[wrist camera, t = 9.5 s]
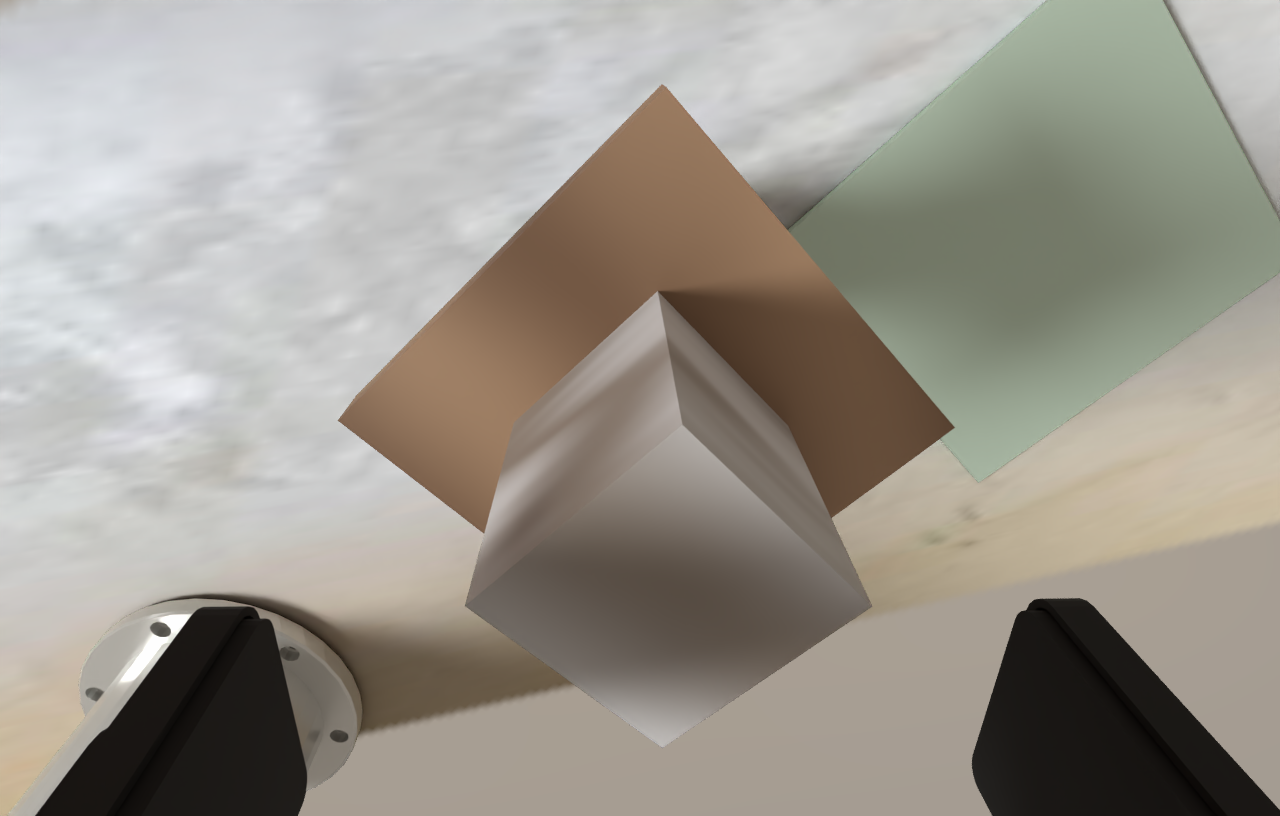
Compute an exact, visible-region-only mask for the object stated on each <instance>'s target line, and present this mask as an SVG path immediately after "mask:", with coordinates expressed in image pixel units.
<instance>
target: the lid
mask: <svg viewBox="0 0 1280 816" xmlns="http://www.w3.org/2000/svg"><path fill="white" fill-rule="evenodd" d="M338 421H339V422H341V423H342V424H343V425H344V426H346V427H347V428H348V429H350V430H351V431H352V432H353V433H355V434H356V435H357V436H359V437H360V438H361V439H362V440H364V441H365V442H366V443H368V444H369V445H370V446H372V447H373V448H374V449H375V450H377V451H378V452H379V453H381V454H382V455H383V456H384V457H386V458H387V459H388V460H390V461H391V462H392V463H393V464H395V465H396V466H397V467H399V468H400V469H401V470H403V471H404V472H405V473H406V474H408V475H409V476H410V477H412V478H413V479H414V480H415V481H417V482H418V483H419V484H421V485H422V486H423V487H425V488H426V489H427V490H428V491H430V492H431V493H432V494H434V495H435V496H436V497H437V498H439V499H440V500H441V501H443V502H444V503H445V504H446V505H448V506H449V507H450V508H452V509H453V510H454V511H456V512H457V513H458V514H459V515H461V516H462V517H463V518H465V519H466V520H467V521H468V522H470V523H471V524H472V525H474V526H475V527H476V528H477V529H479V530H480V531H481V532H483V533H484V536H483V540H482V544H481V548H480V551H479V555H478V559H477V563H476V566H475V570H474V574H473V578H472V581H471V585H470V589H469V593H468V596H467V600H466V604H465V606H466V607H467V608H469V609H470V610H471V611H473V612H474V613H475V614H477V615H478V616H480V617H481V618H482V619H484V620H485V621H487V622H488V623H489V624H491V625H492V626H493V627H495V628H496V629H498V630H499V631H500V632H502V633H503V634H505V635H506V636H507V637H509V638H510V639H512V640H513V641H514V642H516V643H517V644H518V645H520V646H521V647H523V648H524V649H525V650H527V651H528V652H530V653H531V654H532V655H534V656H535V657H536V658H538V659H539V660H541V661H542V662H543V663H545V664H546V665H548V666H549V667H550V668H552V669H553V670H555V671H556V672H557V673H559V674H560V675H561V676H563V677H564V678H566V679H567V680H568V681H570V682H571V683H573V684H574V685H575V686H577V687H578V688H580V689H581V690H582V691H584V692H585V693H586V694H588V695H589V696H591V697H592V698H593V699H595V700H596V701H597V702H599V703H600V704H602V705H603V706H605V707H606V708H607V709H609V710H610V711H611V712H613V713H614V714H616V715H617V716H618V717H620V718H622V720H624V721H625V722H627V723H628V724H629V725H631V726H632V727H634V728H635V729H636V730H638V731H639V732H641V733H642V734H643V735H645V736H646V737H647V738H649V739H650V740H652V741H653V742H654V743H656V744H657V745H659V746H660V747H661V748H663V747H665V746H666V745H668V744H669V743H670V742H672V741H673V740H675V739H677V738H678V737H679V736H681V735H682V734H684V733H685V732H687V731H688V730H690V729H691V728H693V727H694V726H696V725H697V724H699V723H700V722H702V721H703V720H705V719H706V718H708V717H709V716H711V715H712V714H713V713H715V712H717V711H718V710H719V709H721V708H722V707H724V706H725V705H727V704H728V703H730V702H731V701H733V700H734V699H736V698H737V697H739V696H740V695H742V694H743V693H745V692H746V691H748V690H749V689H751V688H752V687H753V686H755V685H756V684H758V683H759V682H761V681H762V680H764V679H765V678H767V677H768V676H770V675H771V674H773V673H774V672H776V671H777V670H779V669H780V668H782V667H783V666H785V665H786V664H788V663H789V662H791V661H792V660H793V659H795V658H796V657H798V656H799V655H801V654H802V653H804V652H805V651H807V650H808V649H810V648H811V647H813V646H814V645H816V644H817V643H819V642H820V641H822V640H823V639H825V638H826V637H828V636H829V635H830V634H832V633H834V632H835V631H837V630H838V629H839V628H841V627H842V626H844V625H845V624H847V623H848V622H850V621H851V620H853V619H854V618H856V617H857V616H859V615H860V614H862V613H863V612H865V611H866V610H868V609H869V608H871V607H872V605H871V603H870V600H869V598H868V596H867V594H866V592H865V590H864V587H863V585H862V583H861V581H860V579H859V577H858V575H857V572H856V570H855V568H854V566H853V564H852V562H851V560H850V557H849V555H848V553H847V551H846V549H845V547H844V545H843V542H842V540H841V538H840V536H839V534H838V532H837V530H836V527H835V525H834V523H833V521H832V519H831V518H832V517H833V516H835V515H836V514H838V513H839V512H840V511H842V510H843V509H844V508H846V507H847V506H849V505H850V504H851V503H853V502H854V501H855V500H857V499H858V498H859V497H861V496H862V495H864V494H865V493H866V492H868V491H869V490H870V489H872V488H873V487H875V486H876V485H877V484H879V483H880V482H881V481H883V480H884V479H886V478H887V477H888V476H890V475H891V474H892V473H894V472H895V471H896V470H898V469H899V468H901V467H902V466H903V465H905V464H906V463H907V462H909V461H910V460H912V459H913V458H914V457H916V456H917V455H918V454H920V453H921V452H922V451H924V450H925V449H927V448H928V447H929V446H931V445H932V444H933V443H935V442H936V441H938V440H939V439H940V438H942V437H943V436H944V435H946V434H947V433H949V432H950V431H951V430H953V429H954V428H955V427H954V426H953V425H952V423H951V422H950V421H949V420H948V419H947V418H946V416H945V415H944V414H943V413H942V412H941V410H940V409H939V408H938V407H937V406H936V405H935V403H934V402H933V401H932V400H931V399H930V398H929V396H928V395H927V394H926V393H925V392H924V390H923V389H922V388H921V387H920V386H919V385H918V383H917V382H916V381H915V380H914V379H913V377H912V376H911V375H910V374H909V373H908V372H907V370H906V369H905V368H904V367H903V366H902V365H901V363H900V362H899V361H898V360H897V359H896V357H895V356H894V355H893V354H892V353H891V352H890V350H889V349H888V348H887V347H886V346H885V344H884V343H883V342H882V341H881V340H880V339H879V337H878V336H877V335H876V334H875V333H874V332H873V330H872V329H871V328H870V327H869V326H868V324H867V323H866V322H865V321H864V320H863V319H862V317H861V316H860V315H859V314H858V313H857V311H856V310H855V309H854V308H853V307H852V306H851V304H850V303H849V302H848V301H847V300H846V299H845V297H844V296H843V295H842V294H841V293H840V291H839V290H838V289H837V288H836V287H835V286H834V284H833V283H832V282H831V281H830V280H829V278H828V277H827V276H826V275H825V274H824V273H823V271H822V270H821V269H820V268H819V267H818V266H817V264H816V263H815V262H814V261H813V260H812V258H811V257H810V256H809V255H808V254H807V253H806V251H805V250H804V249H803V248H802V247H801V245H800V244H799V243H798V242H797V241H796V240H795V238H794V237H793V236H792V235H791V234H790V233H789V231H788V230H787V229H786V228H785V227H784V225H783V224H782V223H781V222H780V221H779V220H778V218H777V217H776V216H775V215H774V214H773V212H772V211H771V210H770V209H769V208H768V207H767V205H766V204H765V203H764V202H763V201H762V200H761V198H760V197H759V196H758V195H757V194H756V192H755V191H754V190H753V189H752V188H751V187H750V185H749V184H748V183H747V182H746V181H745V179H744V178H743V177H742V176H741V175H740V174H739V172H738V171H737V170H736V169H735V168H734V167H733V165H732V164H731V163H730V162H729V161H728V159H727V158H726V157H725V156H724V155H723V154H722V152H721V151H720V150H719V149H718V148H717V146H716V145H715V144H714V143H713V142H712V141H711V139H710V138H709V137H708V136H707V135H706V134H705V132H704V131H703V130H702V129H701V128H700V126H699V125H698V124H697V123H696V122H695V121H694V119H693V118H692V117H691V116H690V115H689V113H688V112H687V111H686V110H685V109H684V108H683V106H682V105H681V104H680V103H679V102H678V100H677V99H676V98H675V97H674V96H673V95H672V93H671V92H670V91H669V90H668V89H667V88H666V87H665V86H664V85H661V86H660V87H659V88H658V89H657V90H656V91H655V92H654V93H653V94H652V95H651V96H650V97H649V98H648V99H647V100H646V101H645V102H644V103H643V104H642V105H641V106H640V107H639V108H638V109H637V110H636V111H635V112H634V113H633V114H632V115H631V116H630V117H629V118H628V119H627V120H626V121H625V122H624V123H623V124H622V125H621V126H620V127H619V129H618V130H617V131H616V132H615V133H614V134H613V135H612V136H611V137H610V138H609V139H608V140H607V141H606V142H605V143H604V144H603V145H602V146H601V147H600V148H599V149H598V150H597V151H596V152H595V153H594V154H593V155H592V156H591V157H590V158H589V159H588V160H587V161H586V162H585V163H584V164H583V165H582V166H581V167H580V168H579V169H578V170H577V171H576V172H575V173H574V174H573V175H572V176H571V177H570V178H569V179H568V180H567V181H566V183H565V184H564V185H563V186H562V187H561V188H560V189H559V190H558V191H557V192H556V193H555V194H554V195H553V196H552V197H551V198H550V199H549V200H548V201H547V202H546V203H545V204H544V205H543V206H542V207H541V208H540V209H539V210H538V211H537V212H536V213H535V214H534V215H533V216H532V217H531V218H530V219H529V220H528V221H527V222H526V223H525V224H524V225H523V226H522V227H521V228H520V229H519V230H518V231H517V232H516V233H515V234H514V235H513V237H512V238H511V239H510V240H509V241H508V242H507V243H506V244H505V245H504V246H503V247H502V248H501V249H500V250H499V251H498V252H497V253H496V254H495V255H494V256H493V257H492V258H491V259H490V260H489V261H488V262H487V263H486V264H485V265H484V266H483V267H482V268H481V269H480V270H479V271H478V272H477V273H476V274H475V275H474V276H473V277H472V278H471V279H470V280H469V281H468V282H467V283H466V284H465V285H464V286H463V287H462V288H461V289H460V290H459V292H458V293H457V294H456V295H455V296H454V297H453V298H452V299H451V300H450V301H449V302H448V303H447V304H446V305H445V306H444V307H443V308H442V309H441V310H440V311H439V312H438V313H437V314H436V315H435V316H434V317H433V318H432V319H431V320H430V321H429V322H428V323H427V324H426V325H425V326H424V327H423V328H422V329H421V330H420V331H419V332H418V333H417V334H416V335H415V336H414V337H413V338H412V339H411V340H410V341H409V342H408V343H407V344H406V346H405V347H404V348H403V349H402V350H401V351H400V352H399V353H398V354H397V355H396V356H395V357H394V358H393V359H392V360H391V361H390V362H389V363H388V364H387V365H386V366H385V367H384V368H383V369H382V370H381V371H380V372H379V373H378V374H377V375H376V376H375V377H374V378H373V379H372V380H371V381H370V382H369V383H368V384H367V385H366V386H365V387H364V388H363V389H362V390H361V391H360V392H359V393H358V394H357V395H356V397H355V398H354V399H353V401H352V402H351V404H350V405H349V406H348V408H347V409H346V410H345V412H344V413H343V414H342V416H341V417H340V418H339V420H338Z"/></svg>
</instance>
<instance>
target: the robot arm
mask: <svg viewBox="0 0 1280 816" xmlns="http://www.w3.org/2000/svg"><path fill="white" fill-rule="evenodd" d="M78 686H79V695H80V704H81V706H82V709H83V711H84V714H85V717H84V719H83V720H82V721H81V722H80V724H79V725H78V726H77V728H76V729H75V730H74V731H73V733H72V734H71V735H70V736H69V738H68V739H67V740H66V741H65V743H64V744H63V745H62V746H61V748H60V749H59V750H58V752H57V753H56V754H55V755H54V757H53V758H52V759H51V760H50V762H49V763H48V764H47V765H46V767H45V768H44V769H43V770H42V772H41V773H40V774H39V776H38V777H37V778H36V779H35V781H34V782H33V783H32V784H31V786H30V787H29V788H28V789H27V791H26V792H25V793H24V794H23V796H22V797H21V798H20V800H19V801H18V802H17V803H16V805H15V806H14V807H13V808H12V810H11V811H10V812H9V813H8V815H7V816H298V814H299V811H300V809H301V807H302V804H303V801H304V798H305V793H306V791H308V790H310V789H312V788H315V787H317V786H318V785H320V784H321V783H323V782H324V781H326V780H328V779H329V778H331V777H332V776H333V775H334V774H335V773H336V772H337V771H338V770H339V769H340V768H341V767H342V766H343V765H344V764H345V762H346V760H347V759H348V757H349V755H350V753H351V752H352V750H353V748H354V745H355V742H356V740H357V737H358V734H359V731H360V728H361V721H362V713H363V710H362V703H361V697H360V692H359V690H358V688H357V685H356V683H355V681H354V678H353V676H352V674H351V673H350V671H349V670H348V669H347V667H346V666H345V664H344V663H343V661H342V660H341V659H340V657H339V656H338V655H337V654H336V653H334V652H333V651H332V650H331V649H330V648H329V647H328V646H327V645H326V644H325V643H324V642H323V641H322V640H320V639H319V638H318V637H316V636H315V635H313V634H312V633H310V632H309V631H308V630H306V629H305V628H303V627H302V626H300V625H298V624H296V623H294V622H292V621H290V620H288V619H286V618H284V617H282V616H280V615H278V614H275V613H272V612H269V611H266V610H263V609H260V608H257V607H254V606H251V605H246V604H241V603H236V602H231V601H226V600H214V599H196V598H195V599H185V600H174V601H167V602H163V603H159V604H155V605H152V606H148V607H144V608H142V609H140V610H138V611H136V612H134V613H132V614H130V615H128V616H126V617H124V618H123V619H121V620H120V621H119V622H118V623H116V624H115V625H114V626H113V627H111V628H110V629H109V630H108V631H107V632H106V633H105V634H104V636H103V637H102V638H101V639H100V640H99V641H98V643H97V644H96V645H95V646H94V647H93V648H92V649H91V650H90V652H89V654H88V656H87V658H86V660H85V662H84V664H83V666H82V668H81V673H80V679H79V684H78ZM972 769H973V775H974V779H975V782H976V785H977V787H978V789H979V791H980V793H981V795H982V797H983V799H984V801H985V803H986V804H987V806H988V808H989V810H990V812H991V814H992V816H1280V810H1279V809H1278V808H1277V807H1276V806H1275V804H1274V803H1273V802H1272V801H1271V800H1270V799H1269V798H1268V797H1267V796H1266V795H1265V794H1264V792H1263V791H1262V790H1261V789H1260V788H1259V787H1258V786H1257V785H1256V784H1255V783H1254V781H1253V780H1252V779H1251V778H1250V777H1249V776H1248V775H1247V774H1246V773H1245V772H1244V770H1243V769H1242V768H1241V767H1240V766H1239V765H1238V764H1237V763H1236V762H1235V761H1234V760H1233V758H1232V757H1231V756H1230V755H1229V754H1228V753H1227V752H1226V751H1225V750H1224V749H1223V747H1221V745H1220V744H1219V743H1218V742H1217V741H1216V740H1215V739H1214V738H1213V737H1212V735H1211V734H1210V733H1209V732H1208V731H1207V730H1206V729H1205V728H1204V727H1203V726H1202V725H1201V723H1200V722H1199V721H1198V720H1197V719H1196V718H1195V717H1194V716H1193V715H1192V714H1191V713H1190V711H1189V710H1188V709H1187V708H1186V707H1185V706H1184V705H1183V704H1182V703H1181V702H1180V700H1179V699H1178V698H1177V697H1176V696H1175V695H1174V694H1173V693H1172V692H1171V691H1170V690H1169V688H1167V686H1166V685H1165V684H1164V683H1163V682H1162V681H1161V680H1160V679H1159V677H1158V676H1157V675H1156V674H1155V673H1154V672H1153V671H1152V670H1151V669H1150V668H1149V666H1148V665H1147V664H1146V663H1145V662H1144V661H1143V660H1142V659H1141V658H1140V657H1139V656H1138V654H1137V653H1136V652H1135V651H1134V650H1133V649H1132V648H1131V647H1130V646H1129V645H1128V644H1127V642H1125V640H1124V639H1123V638H1122V637H1121V636H1120V635H1119V634H1118V633H1117V632H1116V630H1115V629H1114V628H1113V627H1112V626H1111V625H1110V624H1109V623H1108V622H1107V621H1106V619H1105V618H1104V617H1103V616H1102V615H1101V614H1100V613H1099V612H1098V611H1097V610H1096V609H1095V607H1094V606H1092V605H1091V604H1090V603H1089V602H1088V601H1086V600H1083V599H1080V598H1075V599H1072V598H1071V599H1036V600H1033V601H1032V602H1031V603H1030V604H1029V606H1028V608H1027V610H1026V611H1021V612H1020V613H1019V614H1018V615H1017V617H1016V619H1015V622H1014V625H1013V628H1012V631H1011V635H1010V638H1009V641H1008V644H1007V647H1006V651H1005V654H1004V657H1003V660H1002V663H1001V667H1000V670H999V673H998V676H997V679H996V682H995V686H994V689H993V693H992V695H991V699H990V702H989V705H988V708H987V711H986V715H985V718H984V721H983V724H982V727H981V731H980V734H979V737H978V741H977V743H976V746H975V750H974V753H973V757H972Z"/></svg>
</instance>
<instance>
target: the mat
mask: <svg viewBox="0 0 1280 816" xmlns="http://www.w3.org/2000/svg"><path fill="white" fill-rule="evenodd" d="M788 231H789V233H790V234H791V235H792V236H793V237H794V238H795V240H796V241H797V242H798V243H799V244H800V245H801V247H802V248H803V249H804V250H805V251H806V253H807V254H808V255H809V256H810V257H811V258H812V260H813V261H814V262H815V263H816V264H817V266H818V267H819V268H820V269H821V270H822V271H823V273H824V274H825V275H826V276H827V277H828V278H829V280H830V281H831V282H832V283H833V284H834V286H835V287H836V288H837V289H838V290H839V291H840V293H841V294H842V295H843V296H844V297H845V299H846V300H847V301H848V302H849V303H850V304H851V306H852V307H853V308H854V309H855V310H856V311H857V313H858V314H859V315H860V316H861V317H862V319H863V320H864V321H865V322H866V323H867V324H868V326H869V327H870V328H871V329H872V330H873V332H874V333H875V334H876V335H877V336H878V337H879V339H880V340H881V341H882V342H883V343H884V344H885V346H886V347H887V348H888V349H889V350H890V352H891V353H892V354H893V355H894V356H895V357H896V359H897V360H898V361H899V362H900V363H901V365H902V366H903V367H904V368H905V369H906V370H907V372H908V373H909V374H910V375H911V376H912V377H913V379H914V380H915V381H916V382H917V383H918V385H919V386H920V387H921V388H922V389H923V390H924V392H925V393H926V394H927V395H928V396H929V398H930V399H931V400H932V401H933V402H934V403H935V405H936V406H937V407H938V408H939V409H940V410H941V412H942V413H943V414H944V415H945V416H946V418H947V419H948V420H949V421H950V422H951V423H952V425H953V426H954V427H955V428H954V429H953V430H951V431H950V432H949V433H947V434H946V435H944V436H943V437H942V438H940V439H941V440H942V442H943V443H944V444H945V445H946V446H947V447H948V448H949V450H950V451H951V452H952V453H953V454H954V455H955V457H956V458H957V459H958V460H959V461H960V462H961V463H962V465H963V466H964V467H965V468H966V469H967V470H968V472H969V473H970V474H971V475H972V476H973V477H974V478H975V480H976V481H977V482H978V483H979V482H980V481H982V480H983V479H985V478H986V477H988V476H989V475H990V474H992V473H993V472H995V471H996V470H998V469H999V468H1000V467H1002V466H1003V465H1005V464H1006V463H1008V462H1009V461H1010V460H1012V459H1013V458H1015V457H1016V456H1018V455H1019V454H1020V453H1022V452H1023V451H1025V450H1026V449H1028V448H1029V447H1031V446H1032V445H1033V444H1035V443H1036V442H1038V441H1039V440H1041V439H1042V438H1043V437H1045V436H1046V435H1048V434H1049V433H1051V432H1052V431H1053V430H1055V429H1056V428H1058V427H1059V426H1061V425H1062V424H1063V423H1065V422H1066V421H1068V420H1069V419H1071V418H1072V417H1073V416H1075V415H1076V414H1078V413H1079V412H1081V411H1082V410H1084V409H1085V408H1086V407H1088V406H1089V405H1091V404H1092V403H1094V402H1095V401H1096V400H1098V399H1099V398H1101V397H1102V396H1104V395H1105V394H1106V393H1108V392H1109V391H1111V390H1112V389H1114V388H1115V387H1116V386H1118V385H1119V384H1121V383H1122V382H1124V381H1125V380H1127V379H1128V378H1129V377H1131V376H1132V375H1134V374H1135V373H1137V372H1138V371H1139V370H1141V369H1142V368H1144V367H1145V366H1147V365H1148V364H1149V363H1151V362H1152V361H1154V360H1155V359H1157V358H1158V357H1159V356H1161V355H1162V354H1164V353H1165V352H1167V351H1168V350H1169V349H1171V348H1172V347H1174V346H1175V345H1177V344H1178V343H1180V342H1181V341H1182V340H1184V339H1185V338H1187V337H1188V336H1190V335H1191V334H1192V333H1194V332H1195V331H1197V330H1198V329H1200V328H1201V327H1202V326H1204V325H1205V324H1207V323H1208V322H1210V321H1211V320H1212V319H1214V318H1215V317H1217V316H1218V315H1220V314H1221V313H1223V312H1224V311H1225V310H1227V309H1228V308H1230V307H1231V306H1233V305H1234V304H1235V303H1237V302H1238V301H1240V300H1241V299H1243V298H1244V297H1245V296H1247V295H1248V294H1250V293H1251V292H1253V291H1254V290H1255V289H1257V288H1258V287H1260V286H1261V285H1263V284H1264V283H1265V282H1267V281H1268V280H1270V279H1271V278H1273V277H1274V276H1276V275H1277V274H1278V273H1280V220H1279V218H1278V216H1277V215H1276V213H1275V211H1274V209H1273V207H1272V205H1271V203H1270V201H1269V200H1268V198H1267V196H1266V194H1265V192H1264V190H1263V188H1262V186H1261V184H1260V183H1259V181H1258V179H1257V177H1256V175H1255V173H1254V171H1253V169H1252V167H1251V166H1250V164H1249V162H1248V160H1247V158H1246V156H1245V154H1244V152H1243V151H1242V149H1241V147H1240V145H1239V143H1238V141H1237V139H1236V137H1235V135H1234V134H1233V132H1232V130H1231V128H1230V126H1229V124H1228V122H1227V120H1226V119H1225V117H1224V115H1223V113H1222V111H1221V109H1220V107H1219V105H1218V103H1217V102H1216V100H1215V98H1214V96H1213V94H1212V92H1211V90H1210V88H1209V86H1208V85H1207V83H1206V81H1205V79H1204V77H1203V75H1202V73H1201V71H1200V70H1199V68H1198V66H1197V64H1196V62H1195V60H1194V58H1193V56H1192V54H1191V53H1190V51H1189V49H1188V47H1187V45H1186V43H1185V41H1184V39H1183V38H1182V36H1181V34H1180V32H1179V30H1178V28H1177V26H1176V24H1175V22H1174V21H1173V19H1172V17H1171V15H1170V13H1169V11H1168V9H1167V7H1166V5H1165V4H1164V2H1163V0H1047V1H1046V2H1045V3H1043V4H1042V5H1041V6H1040V7H1039V8H1038V9H1037V10H1036V11H1034V12H1033V13H1032V14H1031V15H1030V16H1029V17H1028V18H1026V19H1025V20H1024V21H1023V22H1022V23H1021V24H1020V25H1019V26H1017V27H1016V28H1015V29H1014V30H1013V31H1012V32H1011V33H1010V34H1008V35H1007V36H1006V37H1005V38H1004V39H1003V40H1002V41H1001V42H999V43H998V44H997V45H996V46H995V47H994V48H993V49H991V50H990V51H989V52H988V53H987V54H986V55H985V56H984V57H982V58H981V59H980V60H979V61H978V62H977V63H976V64H975V65H973V66H972V67H971V68H970V69H969V70H968V71H967V72H966V73H964V74H963V75H962V76H961V77H960V78H959V79H958V80H956V81H955V82H954V83H953V84H952V85H951V86H950V87H949V88H947V89H946V90H945V91H944V92H943V93H942V94H941V95H940V96H938V97H937V98H936V99H935V100H934V101H933V102H932V103H931V104H929V105H928V106H927V107H926V108H925V109H924V110H923V111H921V112H920V113H919V114H918V115H917V116H916V117H915V118H914V119H912V120H911V121H910V122H909V123H908V124H907V125H906V126H905V127H903V128H902V129H901V130H900V131H899V132H898V133H897V134H895V135H894V136H893V137H892V138H891V139H890V140H889V141H888V142H886V143H885V144H884V145H883V146H882V147H881V148H880V149H879V150H877V151H876V152H875V153H874V154H873V155H872V156H871V157H870V158H868V159H867V160H866V161H865V162H864V163H863V164H862V165H860V166H859V167H858V168H857V169H856V170H855V171H854V172H853V173H851V174H850V175H849V176H848V177H847V178H846V179H845V180H844V181H842V182H841V183H840V184H839V185H838V186H837V187H836V188H835V189H833V190H832V191H831V192H830V193H829V194H828V195H827V196H825V197H824V198H823V199H822V200H821V201H820V202H819V203H818V204H816V205H815V206H814V207H813V208H812V209H811V210H810V211H809V212H807V213H806V214H805V215H804V216H803V217H802V218H801V219H800V220H798V221H797V222H796V223H795V224H794V225H793V226H792V227H790V228H789V229H788Z"/></svg>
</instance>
